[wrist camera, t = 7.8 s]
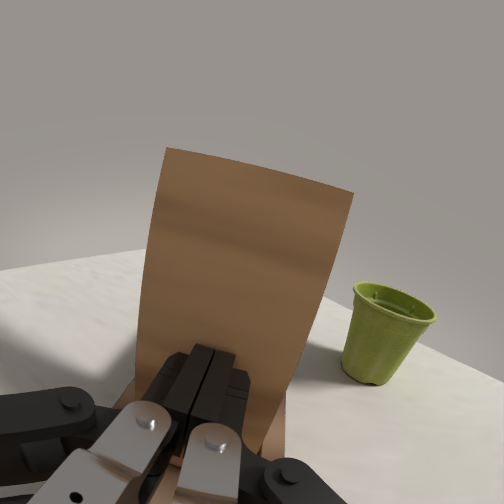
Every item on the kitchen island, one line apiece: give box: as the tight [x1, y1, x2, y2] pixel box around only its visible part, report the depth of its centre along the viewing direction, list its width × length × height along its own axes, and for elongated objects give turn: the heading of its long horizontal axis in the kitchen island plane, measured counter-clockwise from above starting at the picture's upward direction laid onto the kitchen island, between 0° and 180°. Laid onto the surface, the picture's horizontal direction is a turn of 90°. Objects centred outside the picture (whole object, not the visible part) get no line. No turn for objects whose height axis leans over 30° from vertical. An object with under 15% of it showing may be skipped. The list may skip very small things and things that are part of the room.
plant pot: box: [341, 282, 437, 385], centre depth 27 cm, size 9×9×9 cm
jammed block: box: [135, 147, 354, 467], centre depth 13 cm, size 6×6×15 cm
